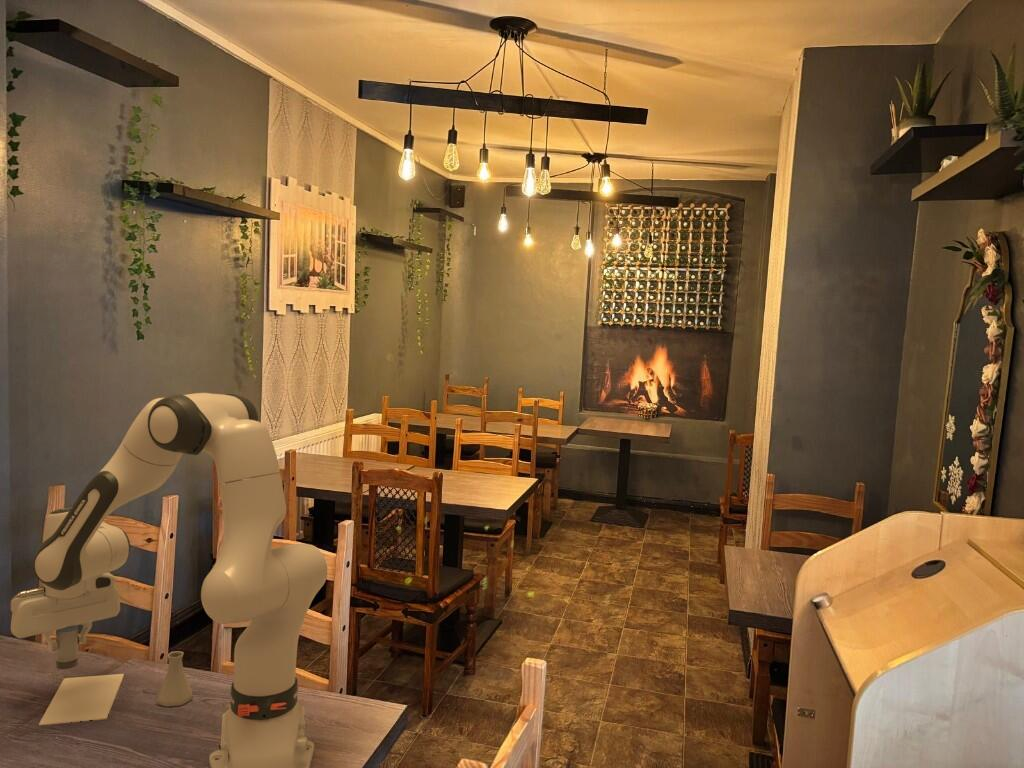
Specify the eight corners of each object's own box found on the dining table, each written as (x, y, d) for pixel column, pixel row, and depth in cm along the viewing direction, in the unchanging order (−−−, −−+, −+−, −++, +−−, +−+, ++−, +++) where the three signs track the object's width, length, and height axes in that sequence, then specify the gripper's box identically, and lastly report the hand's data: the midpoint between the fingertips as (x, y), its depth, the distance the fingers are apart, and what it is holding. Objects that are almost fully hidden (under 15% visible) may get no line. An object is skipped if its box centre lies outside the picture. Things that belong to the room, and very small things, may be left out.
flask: (184, 708, 161) (185, 662, 160) (149, 707, 161) (150, 660, 160) (198, 692, 168) (199, 647, 168) (165, 690, 168) (166, 646, 168)
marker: (75, 668, 163) (75, 626, 162) (53, 670, 162) (54, 628, 161) (79, 660, 167) (79, 619, 166) (58, 661, 165) (58, 620, 165)
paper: (106, 719, 155) (106, 717, 155) (38, 725, 152) (38, 724, 152) (124, 674, 174) (124, 673, 174) (64, 679, 171) (64, 678, 171)
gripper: (15, 597, 153) (15, 665, 154) (123, 576, 168) (122, 638, 169) (5, 589, 157) (6, 655, 158) (112, 569, 172) (111, 629, 173)
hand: (67, 646), depth 164 cm, fingers closed on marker, 4 cm apart
